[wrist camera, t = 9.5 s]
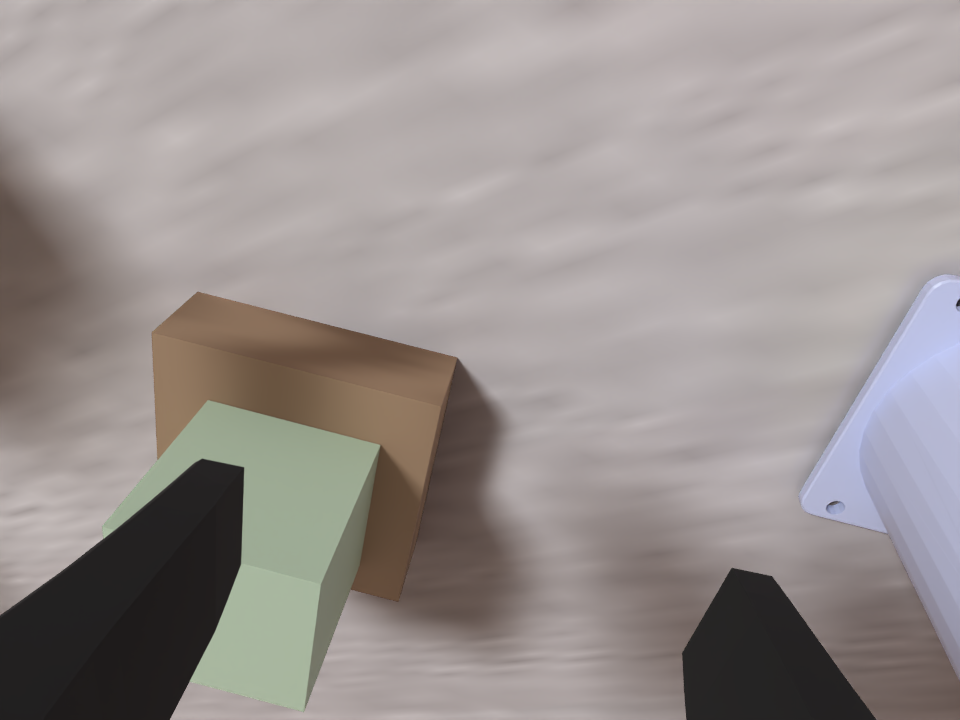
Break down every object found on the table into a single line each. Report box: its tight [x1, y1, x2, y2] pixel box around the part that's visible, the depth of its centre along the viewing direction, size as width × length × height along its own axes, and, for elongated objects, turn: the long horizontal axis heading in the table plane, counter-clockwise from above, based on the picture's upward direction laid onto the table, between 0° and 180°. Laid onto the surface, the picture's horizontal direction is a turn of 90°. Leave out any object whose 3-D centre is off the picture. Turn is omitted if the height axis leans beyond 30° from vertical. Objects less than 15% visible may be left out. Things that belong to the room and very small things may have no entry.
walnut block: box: [152, 292, 457, 602], centre depth 22 cm, size 8×8×3 cm
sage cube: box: [102, 400, 380, 712], centre depth 19 cm, size 5×5×5 cm
